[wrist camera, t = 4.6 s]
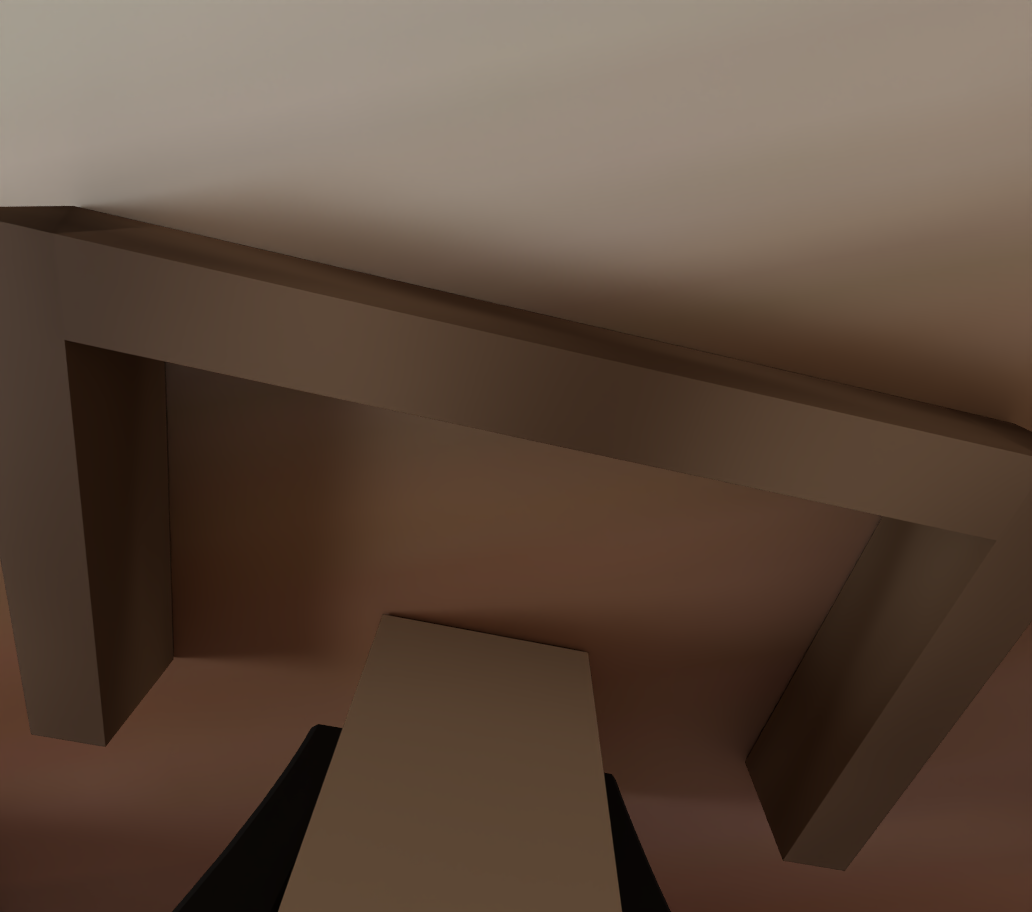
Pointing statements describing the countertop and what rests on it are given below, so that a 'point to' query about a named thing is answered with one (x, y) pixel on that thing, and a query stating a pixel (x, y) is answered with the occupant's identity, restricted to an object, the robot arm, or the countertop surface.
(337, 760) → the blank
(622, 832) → the robot arm
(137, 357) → the shelf bay
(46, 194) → the countertop surface
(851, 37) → the countertop surface
